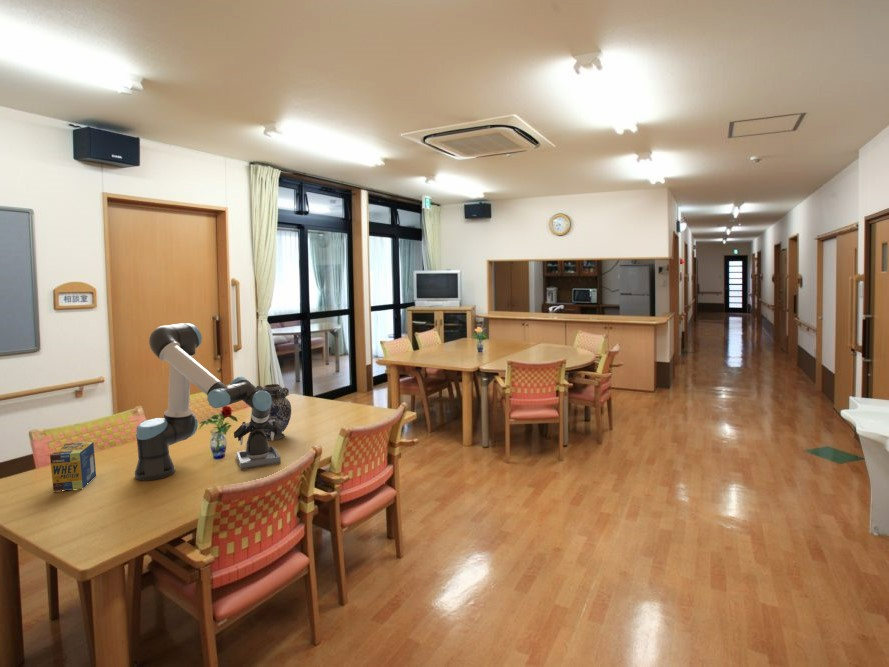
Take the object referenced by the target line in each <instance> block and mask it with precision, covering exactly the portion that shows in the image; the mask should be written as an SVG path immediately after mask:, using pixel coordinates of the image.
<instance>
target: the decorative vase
mask: <svg viewBox="0 0 889 667" xmlns="http://www.w3.org/2000/svg"><path fill="white" fill-rule="evenodd" d="M255 387H256V388H257V389H258V390H259V391H266V392H268V393H269V394H270V395H271V401H272V404H271V407H270V413H269V420H272V418H275V421H276V422H277V423H278V424H279V425H280V427H281V432H279V431H278V432H277V434H276V435H275V436H274V438H273V441H277V440H281V439H284V437H285V436H286V435H285V434H284V433H283V432H284V431H285V430H286V429H287V427H288V425H289V423H290V421H291V416H292V406H291V405H292V404H291V402H290V400H289V399H288V398H287V397H288V396H289V393H290V392H289V388H287V387H285V386H284V387H283V388H282V386H281V385H280V384H276V383H273V384H272V383H271V384H270V383H269V384H266V385H264V386H262V385H257V386H255ZM269 424H270V425H271V423H269ZM272 426H273V425H272ZM263 431H264V433H265V435H266V437H267V440H268V441H271V431H269V430H265V429H264V430H263Z"/></svg>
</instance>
